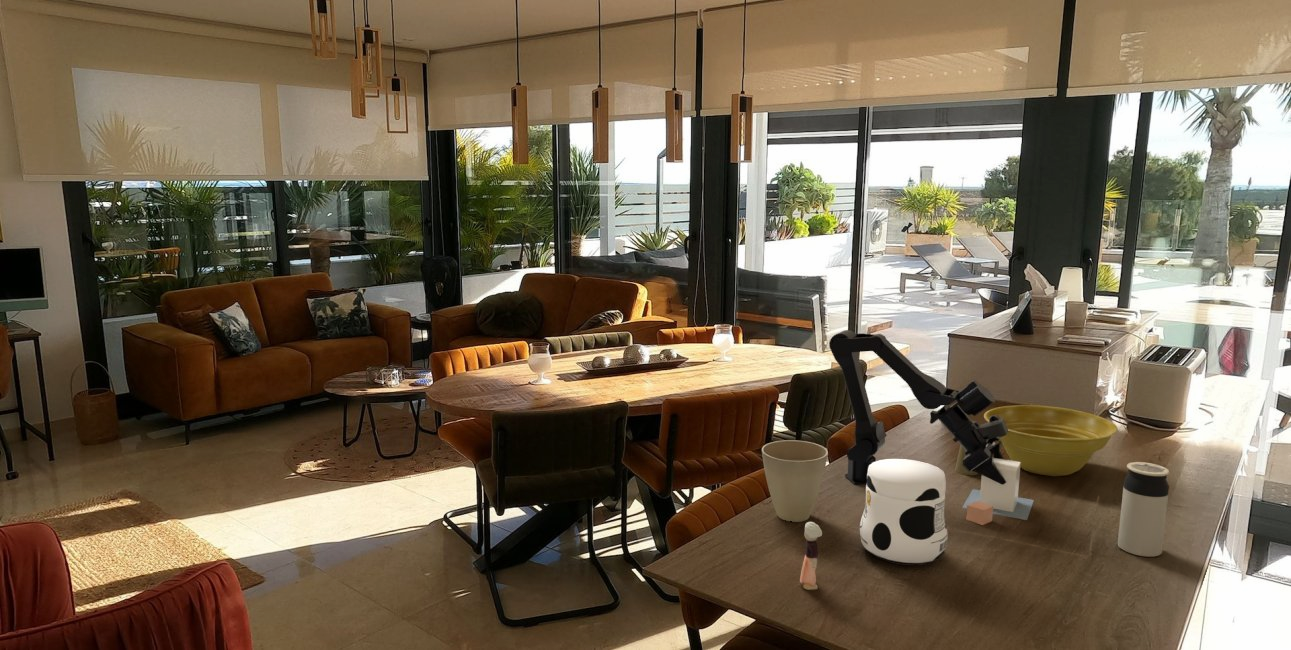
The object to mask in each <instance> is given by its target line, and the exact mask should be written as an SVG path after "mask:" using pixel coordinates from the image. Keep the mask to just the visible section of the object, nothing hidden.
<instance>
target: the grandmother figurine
mask: <svg viewBox="0 0 1291 650" xmlns="http://www.w3.org/2000/svg"><path fill="white" fill-rule="evenodd" d="M822 535H823V531H822V529H821V528H820V526H819V525H818V524H816V523H815V522H814V521H808V522H806V523H805V525H804V538H805V539H806V540H805V544H804V546H805V555H804V559H803V562H802V566H801V570H800V578H799V582H800V584H803V585H802V587H803V589H805V590H809V591H810V590H811V591H812V590H813V591H814V590H818V588H819V586H818V584H817V576H816V569H817V566H818V565H817V564H818V556H819V548H818V544H817V543H818V542H817V539H818V537H819V538H820V537H821V536H822Z"/></svg>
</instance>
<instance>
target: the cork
mask: <svg viewBox="0 0 1291 650" xmlns="http://www.w3.org/2000/svg"><path fill="white" fill-rule="evenodd" d="M965 451H966V450H965V449H964V448H963V447H962V445H961V444H960V445H959V450H958V454H957V459H956V460H957V461H956V463H955V468H954V471H955V472H956V473H957V474H960V475H963V476H977V475H980V474H979V473H976V472H972V471H969V472H968V471H967V470H966V469H965V468H964V467H963V459H964V458H965V456H967V455H966V454H965Z"/></svg>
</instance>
